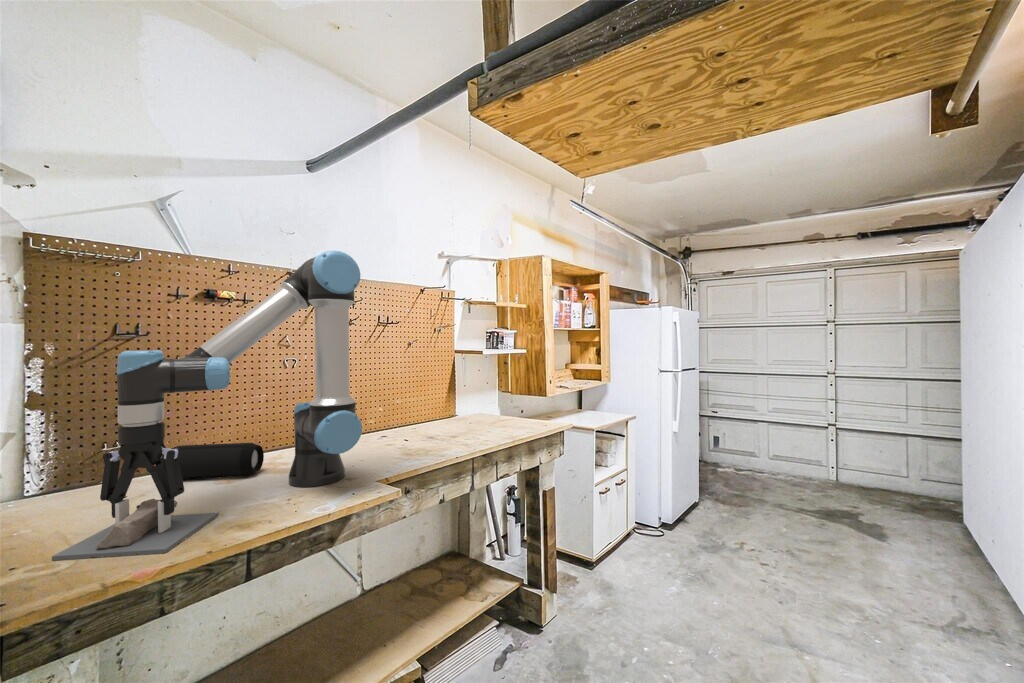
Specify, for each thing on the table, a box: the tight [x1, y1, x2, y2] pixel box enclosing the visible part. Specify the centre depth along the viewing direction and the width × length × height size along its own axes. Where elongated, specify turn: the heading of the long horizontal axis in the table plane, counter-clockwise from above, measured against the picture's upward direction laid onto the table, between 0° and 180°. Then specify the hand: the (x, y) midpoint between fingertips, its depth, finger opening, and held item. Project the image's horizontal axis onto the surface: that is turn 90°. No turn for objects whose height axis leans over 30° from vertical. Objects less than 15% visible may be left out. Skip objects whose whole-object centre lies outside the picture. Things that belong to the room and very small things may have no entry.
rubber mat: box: [51, 512, 220, 562], centre depth 92 cm, size 20×18×1 cm
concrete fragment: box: [96, 498, 178, 549], centre depth 91 cm, size 7×14×6 cm, turn 173°
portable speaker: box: [161, 442, 265, 480], centre depth 132 cm, size 26×10×10 cm, turn 96°
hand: (143, 530), depth 92 cm, fingers open, 7 cm apart
